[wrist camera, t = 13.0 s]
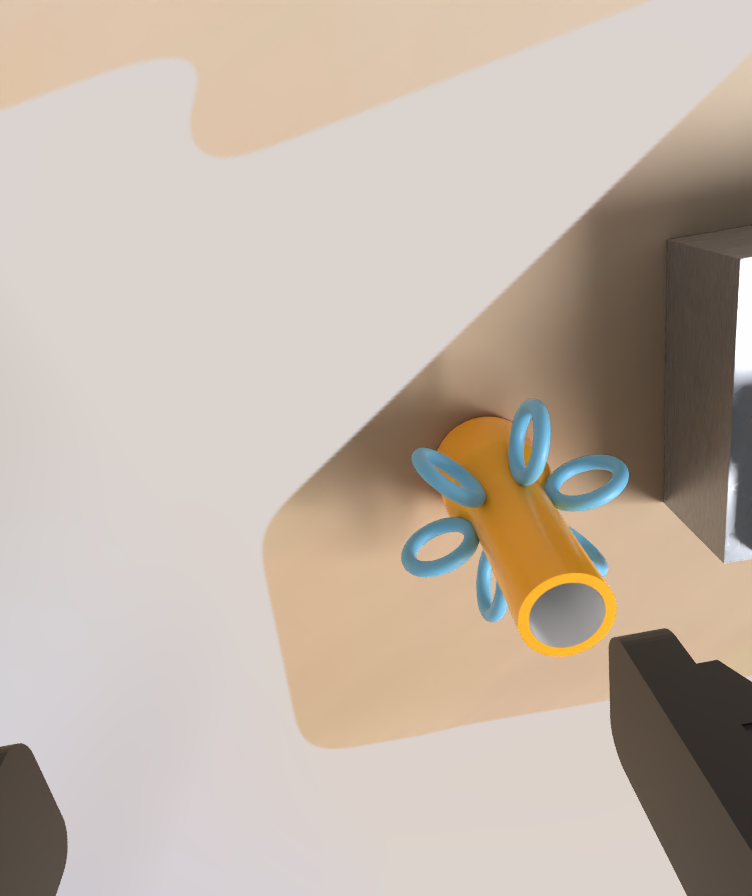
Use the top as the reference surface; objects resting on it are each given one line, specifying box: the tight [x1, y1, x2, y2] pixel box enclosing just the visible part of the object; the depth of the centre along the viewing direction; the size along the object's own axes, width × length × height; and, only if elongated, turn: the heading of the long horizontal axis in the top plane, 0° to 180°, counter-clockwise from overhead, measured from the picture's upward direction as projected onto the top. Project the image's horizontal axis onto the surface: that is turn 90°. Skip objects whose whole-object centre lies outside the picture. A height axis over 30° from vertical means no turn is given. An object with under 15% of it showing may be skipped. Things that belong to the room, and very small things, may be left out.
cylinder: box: [401, 399, 629, 656], centre depth 35 cm, size 12×10×15 cm
